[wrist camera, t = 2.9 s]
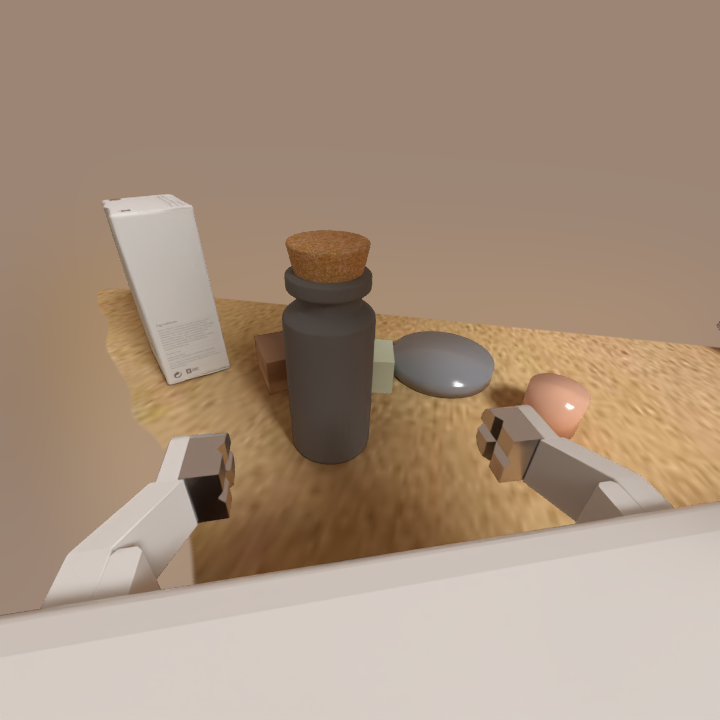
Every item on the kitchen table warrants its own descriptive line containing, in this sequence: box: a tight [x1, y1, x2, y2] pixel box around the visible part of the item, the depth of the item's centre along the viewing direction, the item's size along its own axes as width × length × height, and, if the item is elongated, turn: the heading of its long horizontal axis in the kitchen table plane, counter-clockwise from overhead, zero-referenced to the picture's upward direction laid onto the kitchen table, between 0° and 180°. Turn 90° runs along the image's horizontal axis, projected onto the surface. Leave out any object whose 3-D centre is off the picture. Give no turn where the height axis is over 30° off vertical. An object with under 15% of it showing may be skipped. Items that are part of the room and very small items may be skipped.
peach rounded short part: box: [522, 373, 591, 439], centre depth 30 cm, size 4×4×4 cm
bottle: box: [282, 230, 376, 464], centre depth 24 cm, size 6×6×15 cm
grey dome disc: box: [393, 331, 494, 398], centre depth 37 cm, size 10×10×1 cm
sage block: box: [371, 339, 395, 394], centre depth 34 cm, size 5×4×4 cm
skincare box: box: [102, 194, 230, 385], centre depth 33 cm, size 8×6×15 cm
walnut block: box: [254, 331, 288, 394], centre depth 34 cm, size 5×5×4 cm
